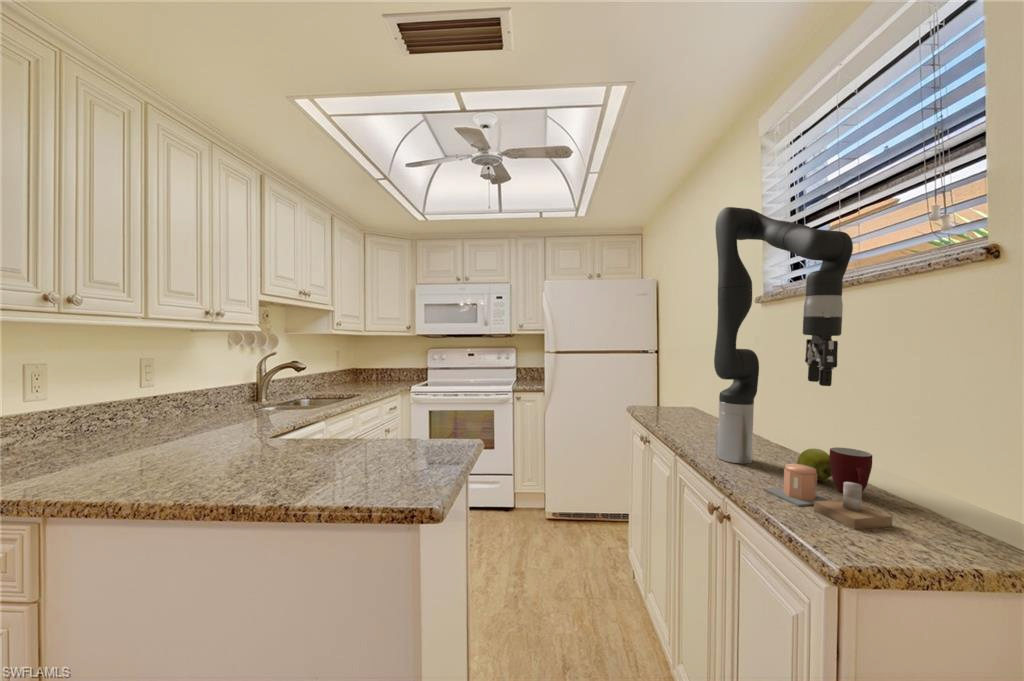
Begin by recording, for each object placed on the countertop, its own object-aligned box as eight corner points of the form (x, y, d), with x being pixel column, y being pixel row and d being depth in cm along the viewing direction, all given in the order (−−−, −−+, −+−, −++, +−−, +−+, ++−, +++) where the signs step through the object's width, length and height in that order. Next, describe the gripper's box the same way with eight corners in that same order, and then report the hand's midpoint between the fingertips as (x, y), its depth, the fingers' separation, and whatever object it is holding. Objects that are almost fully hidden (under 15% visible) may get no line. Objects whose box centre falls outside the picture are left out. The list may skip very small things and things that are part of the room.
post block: (813, 510, 93) (815, 478, 93) (848, 508, 95) (849, 476, 95) (854, 529, 84) (855, 493, 84) (892, 526, 86) (893, 491, 86)
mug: (887, 505, 97) (888, 460, 97) (847, 502, 98) (849, 458, 98) (856, 488, 108) (858, 448, 108) (821, 486, 109) (822, 446, 109)
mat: (763, 489, 105) (763, 488, 105) (798, 488, 107) (798, 486, 107) (798, 506, 95) (798, 504, 95) (836, 503, 97) (836, 502, 97)
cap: (789, 488, 106) (790, 462, 105) (818, 495, 101) (819, 468, 101) (780, 494, 101) (781, 466, 101) (810, 502, 97) (811, 473, 97)
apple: (820, 474, 118) (821, 445, 118) (842, 486, 109) (843, 454, 109) (790, 473, 119) (791, 444, 119) (809, 484, 110) (810, 453, 110)
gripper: (795, 316, 111) (792, 379, 112) (813, 314, 98) (809, 386, 98) (830, 316, 109) (827, 381, 109) (853, 314, 95) (849, 388, 96)
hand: (819, 383), depth 104 cm, fingers open, 8 cm apart
